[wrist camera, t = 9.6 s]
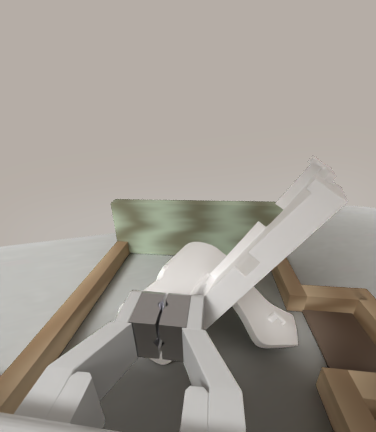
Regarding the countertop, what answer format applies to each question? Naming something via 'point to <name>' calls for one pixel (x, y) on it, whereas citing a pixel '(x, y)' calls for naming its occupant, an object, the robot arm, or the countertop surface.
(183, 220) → the trap lane
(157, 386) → the countertop surface
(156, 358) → the robot arm
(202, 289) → the plastic part
